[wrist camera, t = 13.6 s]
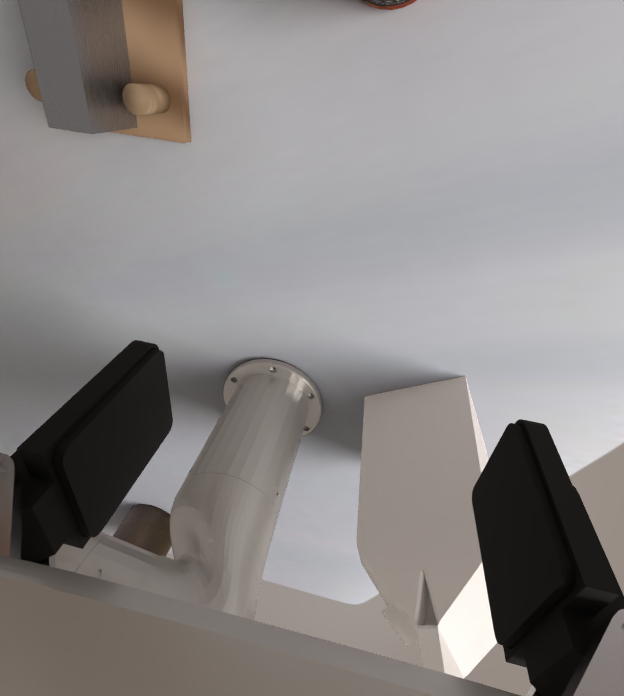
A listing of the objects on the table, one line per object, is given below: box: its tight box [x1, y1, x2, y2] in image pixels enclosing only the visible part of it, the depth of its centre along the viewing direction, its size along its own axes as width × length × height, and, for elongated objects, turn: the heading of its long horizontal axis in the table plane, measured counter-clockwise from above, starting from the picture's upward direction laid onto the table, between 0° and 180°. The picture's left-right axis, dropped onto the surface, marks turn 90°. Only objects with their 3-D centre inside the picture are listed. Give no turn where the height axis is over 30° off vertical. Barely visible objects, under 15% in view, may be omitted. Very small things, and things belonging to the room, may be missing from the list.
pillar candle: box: [113, 504, 172, 557], centre depth 66 cm, size 10×10×15 cm
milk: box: [357, 376, 497, 679], centre depth 36 cm, size 12×12×26 cm
